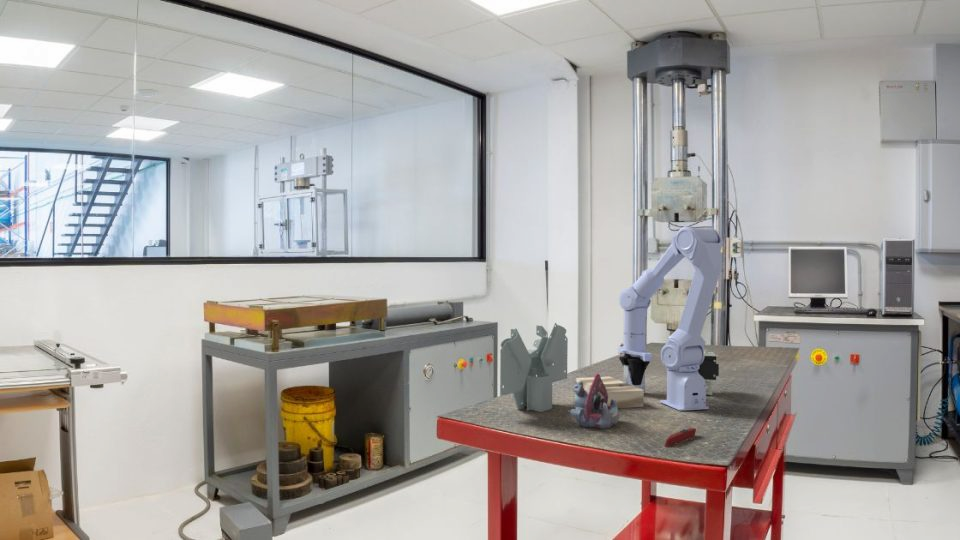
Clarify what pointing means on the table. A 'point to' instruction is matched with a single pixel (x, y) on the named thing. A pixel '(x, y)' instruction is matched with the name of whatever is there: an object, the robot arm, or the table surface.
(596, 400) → the grey red figurine
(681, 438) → the utility knife
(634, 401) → the light wood flat block
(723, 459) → the table surface
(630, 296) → the robot arm
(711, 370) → the pneumatic valve
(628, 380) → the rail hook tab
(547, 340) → the bracket
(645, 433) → the table surface
